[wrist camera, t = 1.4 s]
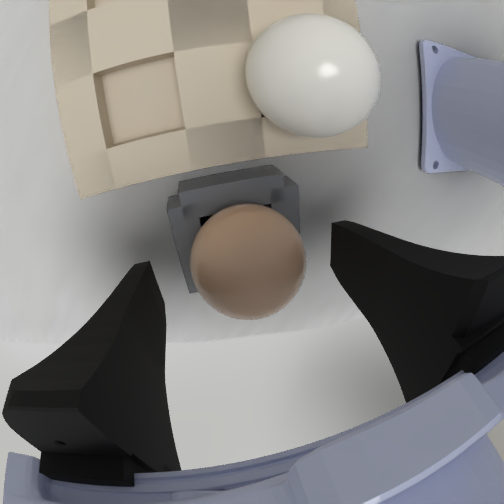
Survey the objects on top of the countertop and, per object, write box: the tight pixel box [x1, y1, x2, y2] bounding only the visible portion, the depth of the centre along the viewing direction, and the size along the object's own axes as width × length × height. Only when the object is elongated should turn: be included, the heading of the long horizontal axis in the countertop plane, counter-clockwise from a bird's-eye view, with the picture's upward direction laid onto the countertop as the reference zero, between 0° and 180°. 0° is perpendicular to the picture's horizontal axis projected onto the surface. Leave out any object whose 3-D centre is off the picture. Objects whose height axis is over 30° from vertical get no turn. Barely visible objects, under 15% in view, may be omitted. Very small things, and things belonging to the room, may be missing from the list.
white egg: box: [245, 13, 381, 138], centre depth 8 cm, size 4×4×4 cm
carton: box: [49, 0, 367, 199], centre depth 8 cm, size 12×12×2 cm
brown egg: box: [190, 204, 306, 320], centre depth 11 cm, size 4×4×4 cm
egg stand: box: [167, 165, 300, 293], centre depth 13 cm, size 5×5×2 cm
